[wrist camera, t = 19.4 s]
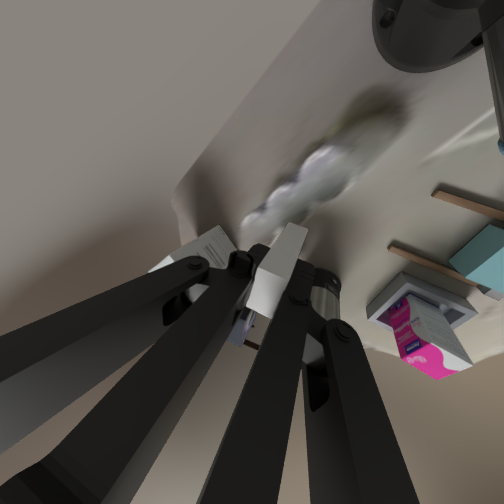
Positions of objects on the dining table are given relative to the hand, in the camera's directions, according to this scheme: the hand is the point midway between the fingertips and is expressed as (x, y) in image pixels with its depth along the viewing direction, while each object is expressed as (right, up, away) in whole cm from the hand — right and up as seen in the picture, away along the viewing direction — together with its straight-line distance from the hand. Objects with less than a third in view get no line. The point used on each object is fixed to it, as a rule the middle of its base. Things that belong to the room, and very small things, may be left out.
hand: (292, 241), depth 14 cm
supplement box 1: (-12, +1, +35) cm, 37 cm away
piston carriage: (+33, 0, +14) cm, 36 cm away
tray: (+28, -11, +22) cm, 38 cm away
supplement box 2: (+28, -12, +22) cm, 37 cm away
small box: (-4, -16, +40) cm, 44 cm away
